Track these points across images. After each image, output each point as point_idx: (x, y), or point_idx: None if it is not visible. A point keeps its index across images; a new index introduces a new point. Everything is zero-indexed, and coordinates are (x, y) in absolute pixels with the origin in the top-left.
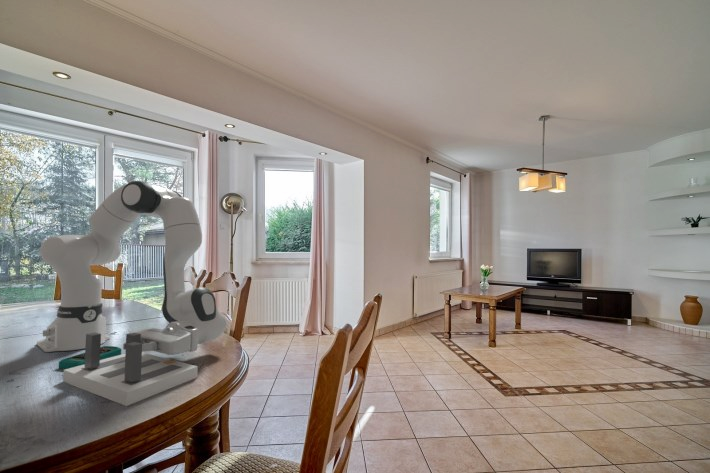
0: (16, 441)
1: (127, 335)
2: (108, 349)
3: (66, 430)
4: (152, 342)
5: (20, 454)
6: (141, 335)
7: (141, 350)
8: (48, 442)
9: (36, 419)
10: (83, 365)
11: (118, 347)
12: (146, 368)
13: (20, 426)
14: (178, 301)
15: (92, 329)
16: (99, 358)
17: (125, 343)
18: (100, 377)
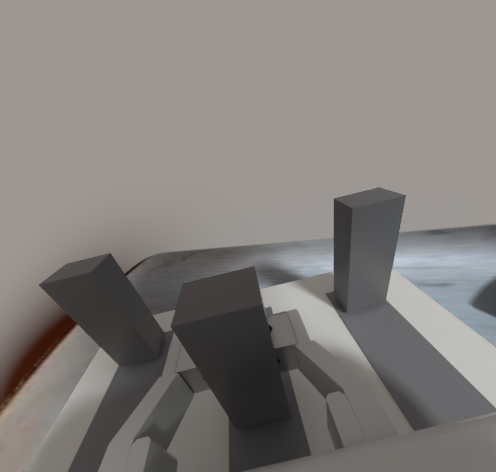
0: (188, 253)
1: (242, 274)
2: None
3: (160, 278)
4: (115, 454)
5: (162, 257)
6: (383, 453)
7: (60, 303)
8: (156, 268)
9: (221, 260)
10: (407, 289)
11: None
12: (198, 456)
13: (218, 253)
14: None
15: None
16: (346, 291)
17: (286, 313)
18: None
